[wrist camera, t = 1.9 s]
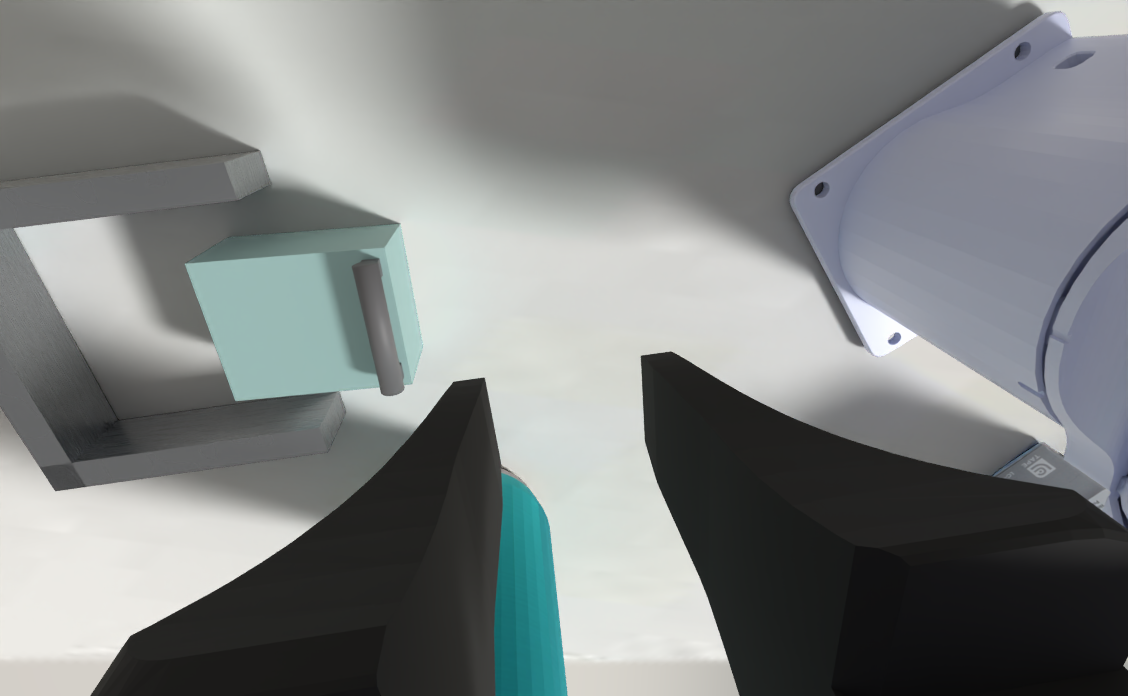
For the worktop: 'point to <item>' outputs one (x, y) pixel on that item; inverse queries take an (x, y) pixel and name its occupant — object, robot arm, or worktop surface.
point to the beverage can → (526, 600)
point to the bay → (64, 380)
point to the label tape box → (1053, 473)
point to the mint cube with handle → (311, 311)
